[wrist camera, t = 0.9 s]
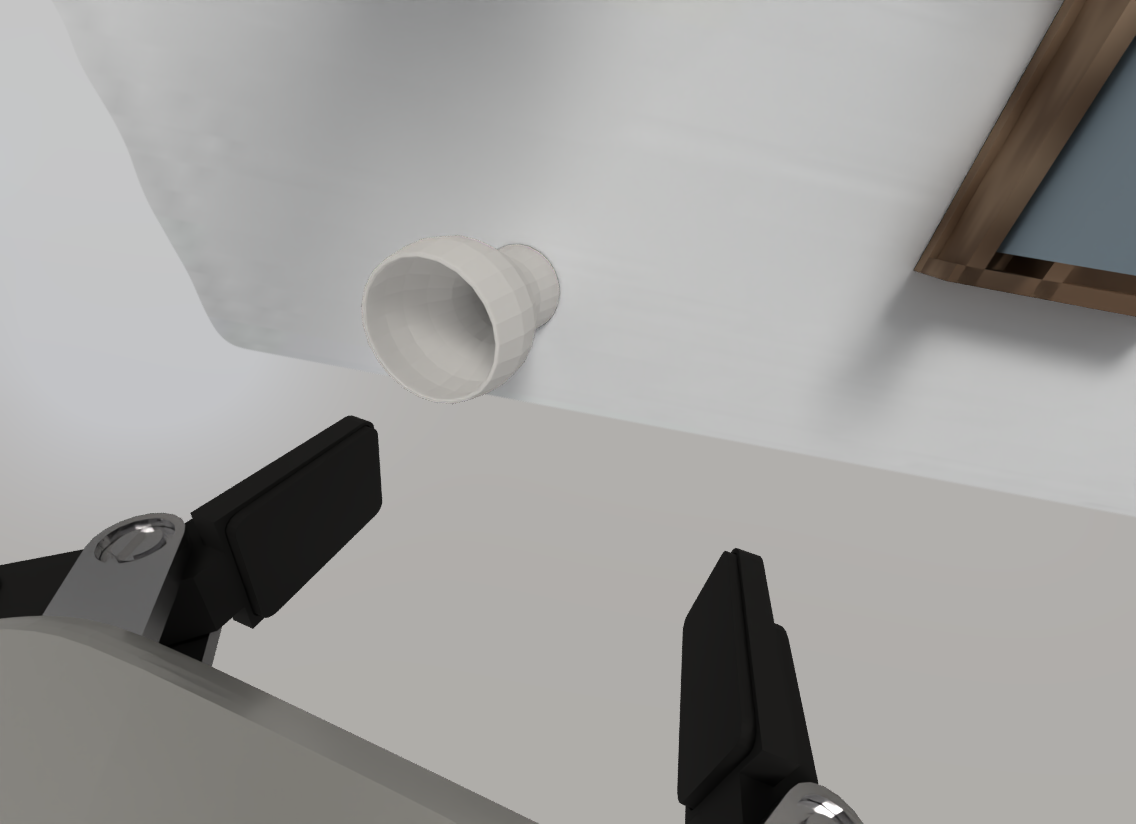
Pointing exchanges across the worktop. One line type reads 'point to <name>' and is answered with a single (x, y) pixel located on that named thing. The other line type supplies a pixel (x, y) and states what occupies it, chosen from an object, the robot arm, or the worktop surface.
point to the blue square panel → (1089, 187)
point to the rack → (1036, 166)
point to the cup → (456, 314)
